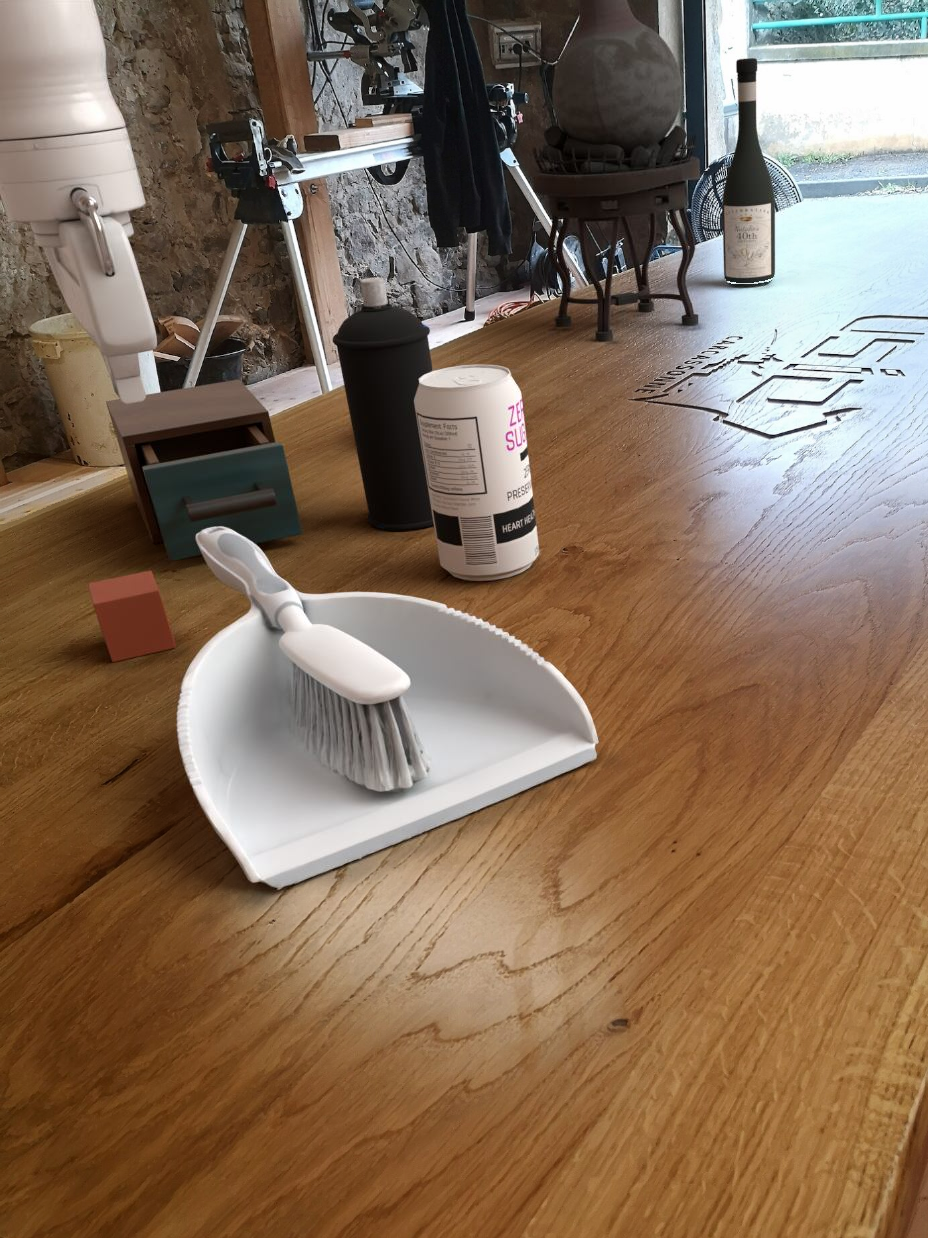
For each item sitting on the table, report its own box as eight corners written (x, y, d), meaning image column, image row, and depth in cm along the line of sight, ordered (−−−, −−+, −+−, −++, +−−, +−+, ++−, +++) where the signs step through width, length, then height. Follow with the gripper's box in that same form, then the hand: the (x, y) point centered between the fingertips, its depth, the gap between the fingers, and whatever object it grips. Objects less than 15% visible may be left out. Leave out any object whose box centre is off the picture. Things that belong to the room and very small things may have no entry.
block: (112, 662, 91) (92, 603, 89) (106, 640, 95) (87, 583, 92) (176, 648, 93) (159, 589, 90) (168, 626, 96) (151, 569, 94)
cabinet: (292, 516, 116) (268, 411, 111) (153, 544, 112) (121, 436, 107) (262, 476, 127) (239, 379, 122) (135, 500, 123) (105, 401, 118)
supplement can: (431, 558, 105) (400, 372, 96) (524, 540, 107) (502, 357, 98) (453, 591, 98) (422, 395, 90) (552, 571, 100) (531, 378, 92)
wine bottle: (772, 287, 193) (771, 58, 176) (721, 288, 194) (715, 61, 177) (776, 277, 199) (776, 55, 182) (727, 279, 201) (722, 58, 184)
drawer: (315, 550, 106) (294, 457, 101) (177, 579, 102) (150, 485, 98) (272, 493, 119) (253, 410, 115) (150, 517, 116) (125, 432, 111)
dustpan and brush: (254, 904, 65) (207, 745, 59) (79, 692, 87) (33, 563, 82) (616, 754, 75) (604, 608, 70) (376, 600, 98) (352, 480, 93)
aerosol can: (419, 536, 109) (377, 290, 98) (348, 525, 113) (300, 287, 102) (475, 506, 115) (441, 271, 104) (405, 496, 119) (366, 268, 108)
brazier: (723, 329, 170) (713, -82, 145) (562, 349, 166) (522, -69, 141) (682, 301, 188) (666, -68, 163) (536, 318, 185) (496, -57, 159)
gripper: (143, 190, 76) (203, 421, 83) (99, 168, 91) (153, 366, 99) (34, 202, 73) (105, 439, 81) (8, 178, 89) (70, 380, 97)
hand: (131, 399), depth 90 cm, fingers closed
